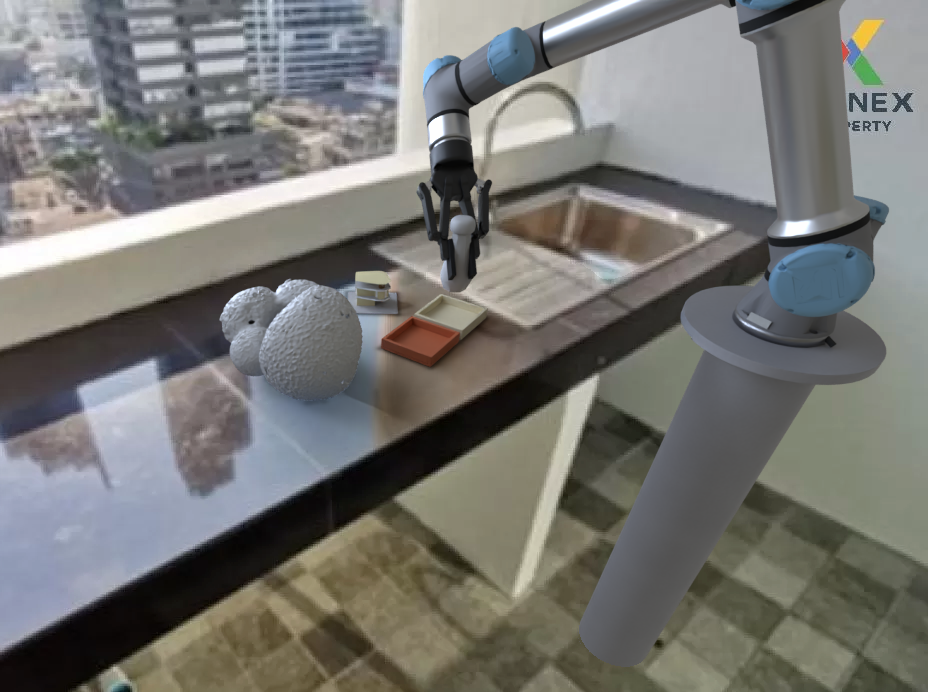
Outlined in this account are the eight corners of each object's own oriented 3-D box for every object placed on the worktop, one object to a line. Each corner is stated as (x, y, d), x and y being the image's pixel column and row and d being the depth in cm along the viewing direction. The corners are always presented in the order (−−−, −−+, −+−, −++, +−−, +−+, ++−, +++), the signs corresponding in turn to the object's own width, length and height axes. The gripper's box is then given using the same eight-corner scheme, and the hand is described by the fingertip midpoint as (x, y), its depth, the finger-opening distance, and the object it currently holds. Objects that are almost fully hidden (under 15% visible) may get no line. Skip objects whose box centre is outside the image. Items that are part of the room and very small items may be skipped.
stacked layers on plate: (346, 313, 118) (346, 287, 115) (348, 292, 125) (348, 267, 121) (397, 314, 118) (399, 288, 114) (396, 292, 124) (398, 267, 121)
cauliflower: (323, 286, 111) (289, 208, 91) (397, 387, 102) (378, 325, 81) (231, 347, 112) (176, 284, 91) (296, 454, 102) (251, 409, 82)
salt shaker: (476, 287, 111) (488, 217, 103) (458, 298, 108) (468, 226, 100) (451, 277, 114) (460, 208, 106) (432, 287, 111) (439, 217, 103)
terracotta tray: (458, 341, 110) (460, 332, 108) (430, 367, 103) (431, 357, 102) (410, 325, 114) (411, 315, 113) (380, 348, 108) (381, 338, 107)
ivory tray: (486, 317, 116) (488, 308, 115) (461, 340, 110) (462, 330, 109) (439, 302, 121) (441, 293, 120) (413, 323, 115) (413, 313, 114)
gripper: (487, 158, 112) (499, 281, 110) (402, 162, 111) (413, 286, 109) (501, 135, 104) (514, 267, 102) (410, 138, 103) (421, 272, 101)
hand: (462, 276), depth 106 cm, fingers closed on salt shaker, 3 cm apart
